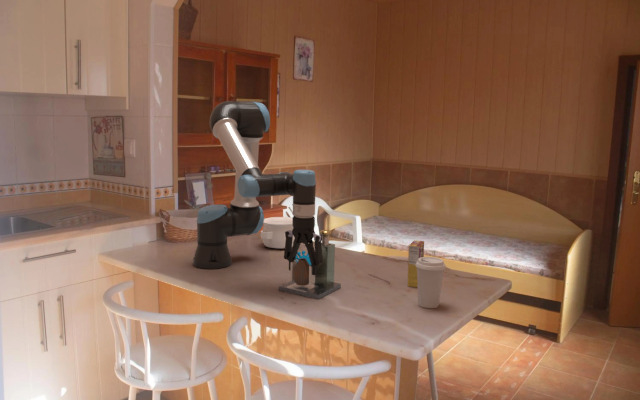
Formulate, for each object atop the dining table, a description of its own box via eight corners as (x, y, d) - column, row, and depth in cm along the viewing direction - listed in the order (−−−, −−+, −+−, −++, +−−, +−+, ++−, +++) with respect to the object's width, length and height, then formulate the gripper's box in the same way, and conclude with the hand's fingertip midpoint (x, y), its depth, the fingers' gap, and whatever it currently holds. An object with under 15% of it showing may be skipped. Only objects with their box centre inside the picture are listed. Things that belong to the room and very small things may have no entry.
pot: (278, 254, 238) (278, 226, 236) (249, 247, 248) (249, 221, 246) (310, 245, 255) (310, 219, 253) (282, 239, 266) (282, 215, 264)
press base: (278, 290, 189) (279, 246, 187) (302, 279, 202) (303, 238, 200) (318, 299, 181) (319, 253, 179) (340, 287, 194) (341, 244, 192)
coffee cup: (410, 299, 183) (412, 256, 181) (438, 299, 184) (440, 256, 181) (417, 310, 174) (420, 264, 171) (447, 309, 174) (450, 264, 172)
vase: (305, 288, 184) (305, 262, 183) (288, 284, 188) (288, 259, 186) (316, 283, 190) (316, 258, 189) (299, 279, 194) (300, 255, 192)
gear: (298, 271, 207) (292, 249, 212) (292, 279, 211) (286, 257, 216) (323, 272, 212) (317, 250, 218) (317, 280, 216) (311, 258, 222)
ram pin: (317, 261, 192) (318, 231, 190) (322, 259, 195) (323, 229, 193) (326, 263, 190) (327, 232, 188) (332, 260, 193) (333, 230, 192)
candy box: (411, 279, 206) (413, 239, 203) (423, 281, 204) (425, 241, 202) (406, 286, 198) (408, 244, 195) (418, 287, 196) (420, 246, 194)
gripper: (273, 214, 187) (272, 279, 190) (323, 221, 177) (321, 289, 180) (285, 211, 193) (285, 274, 197) (334, 217, 183) (332, 284, 187)
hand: (302, 281), depth 189 cm, fingers closed on vase, 7 cm apart
